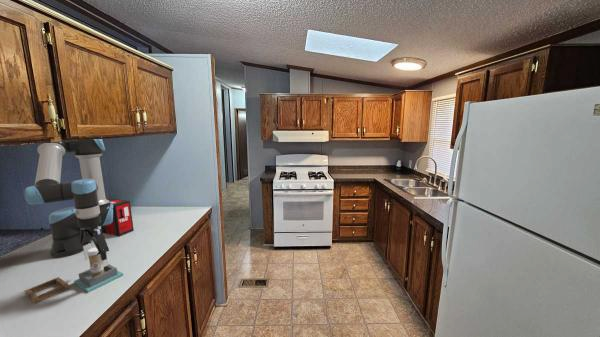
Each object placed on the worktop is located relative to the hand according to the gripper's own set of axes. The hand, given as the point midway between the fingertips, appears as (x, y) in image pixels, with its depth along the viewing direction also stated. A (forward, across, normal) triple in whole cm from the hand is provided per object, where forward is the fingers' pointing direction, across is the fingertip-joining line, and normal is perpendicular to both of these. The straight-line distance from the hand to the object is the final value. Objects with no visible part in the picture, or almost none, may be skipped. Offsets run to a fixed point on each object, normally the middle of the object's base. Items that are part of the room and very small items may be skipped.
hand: (96, 262), depth 106 cm
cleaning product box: (+8, -48, +30) cm, 57 cm away
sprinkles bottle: (+7, 0, 0) cm, 7 cm away
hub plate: (+8, 0, 0) cm, 8 cm away
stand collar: (+8, -9, -14) cm, 19 cm away
